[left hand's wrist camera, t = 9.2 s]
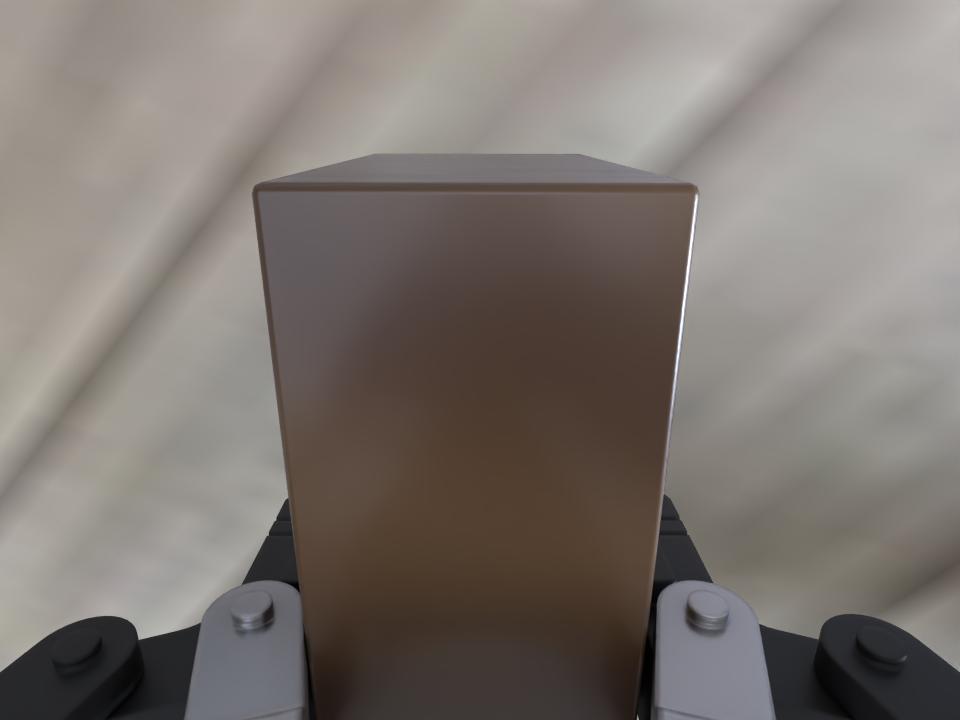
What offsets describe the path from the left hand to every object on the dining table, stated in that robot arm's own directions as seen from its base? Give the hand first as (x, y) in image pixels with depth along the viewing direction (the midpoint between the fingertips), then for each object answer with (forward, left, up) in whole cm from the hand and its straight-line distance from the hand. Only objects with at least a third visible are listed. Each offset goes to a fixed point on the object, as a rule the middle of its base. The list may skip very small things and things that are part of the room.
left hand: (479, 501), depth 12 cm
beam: (+7, +21, -2) cm, 22 cm away
